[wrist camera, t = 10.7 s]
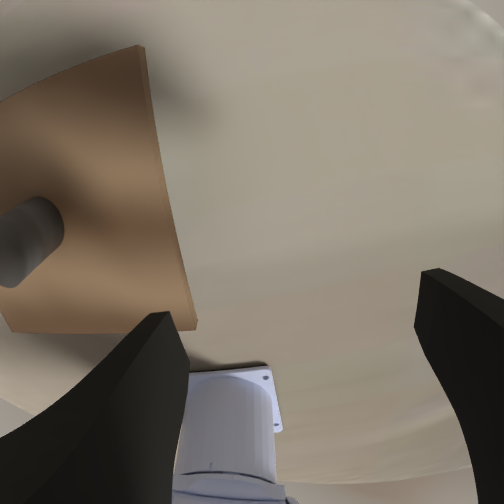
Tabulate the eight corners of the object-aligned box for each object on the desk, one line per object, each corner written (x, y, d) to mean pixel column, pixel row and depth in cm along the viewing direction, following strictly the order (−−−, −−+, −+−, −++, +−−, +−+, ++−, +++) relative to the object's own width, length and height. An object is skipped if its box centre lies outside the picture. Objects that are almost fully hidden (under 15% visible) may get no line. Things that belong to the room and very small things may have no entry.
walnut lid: (197, 320, 16) (184, 383, 12) (17, 324, 17) (-14, 366, 13) (144, 47, 10) (98, 26, 6) (-46, 135, 11) (-97, 152, 7)
